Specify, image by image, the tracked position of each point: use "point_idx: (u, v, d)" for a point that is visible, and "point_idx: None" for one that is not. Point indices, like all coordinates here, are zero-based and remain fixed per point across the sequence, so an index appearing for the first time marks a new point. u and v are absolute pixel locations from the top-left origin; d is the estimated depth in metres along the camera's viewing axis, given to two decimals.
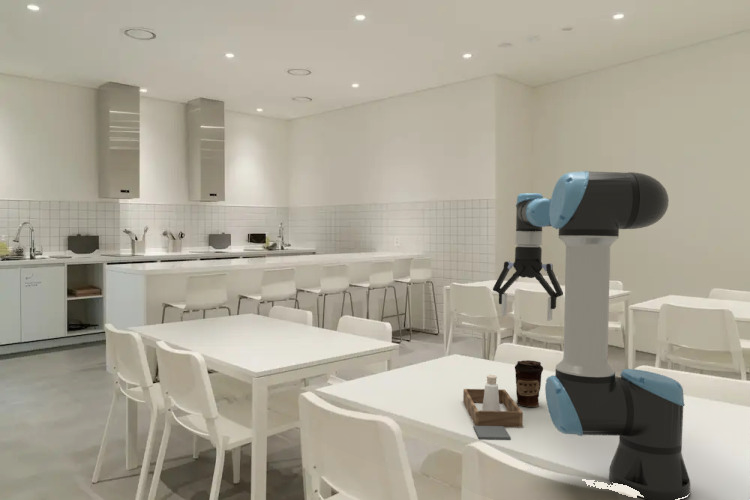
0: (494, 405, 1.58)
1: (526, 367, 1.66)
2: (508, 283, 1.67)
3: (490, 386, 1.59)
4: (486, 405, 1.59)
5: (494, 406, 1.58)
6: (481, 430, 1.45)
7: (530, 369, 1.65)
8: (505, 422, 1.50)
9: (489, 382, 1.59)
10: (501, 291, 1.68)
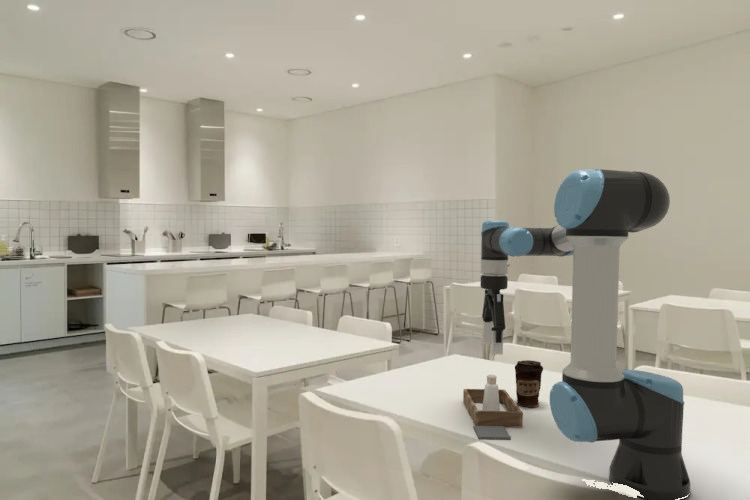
0: (494, 405, 1.58)
1: (526, 367, 1.66)
2: (485, 311, 1.65)
3: (490, 386, 1.59)
4: (486, 405, 1.59)
5: (494, 406, 1.58)
6: (481, 430, 1.45)
7: (530, 369, 1.65)
8: (505, 422, 1.50)
9: (489, 382, 1.59)
10: (483, 319, 1.67)
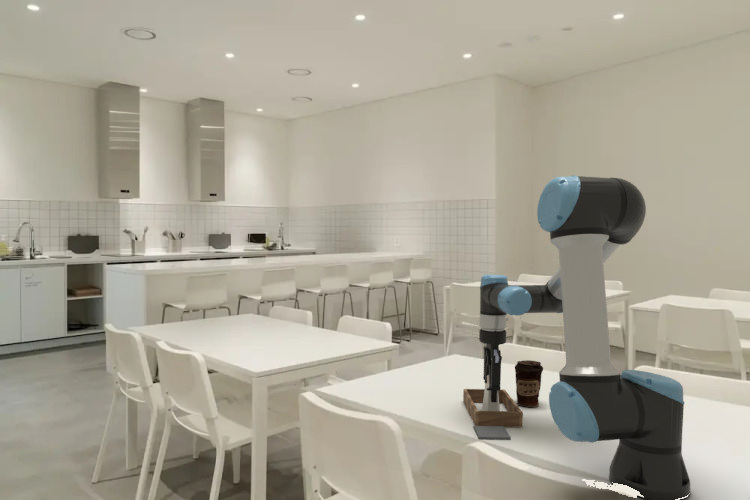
0: None
1: (526, 367, 1.66)
2: (485, 370, 1.63)
3: None
4: (486, 405, 1.59)
5: None
6: (481, 430, 1.45)
7: (530, 369, 1.65)
8: (505, 422, 1.50)
9: None
10: (485, 381, 1.63)
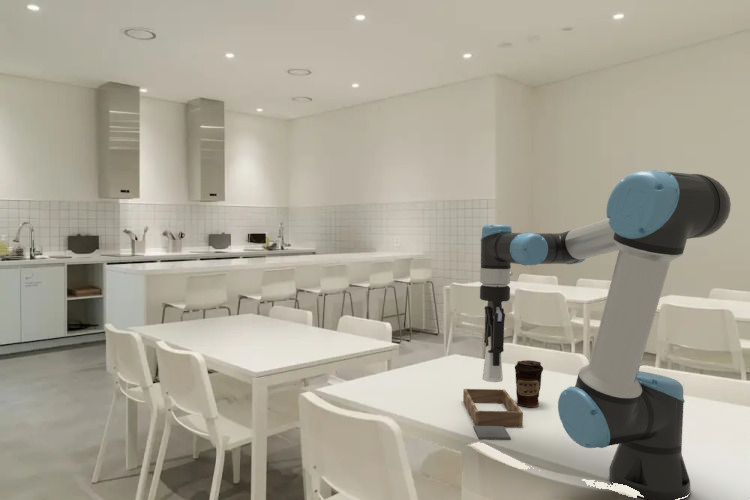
0: None
1: (526, 367, 1.66)
2: (487, 332, 1.46)
3: None
4: (487, 369, 1.42)
5: None
6: (481, 430, 1.45)
7: (530, 369, 1.65)
8: (505, 422, 1.50)
9: None
10: (486, 343, 1.47)
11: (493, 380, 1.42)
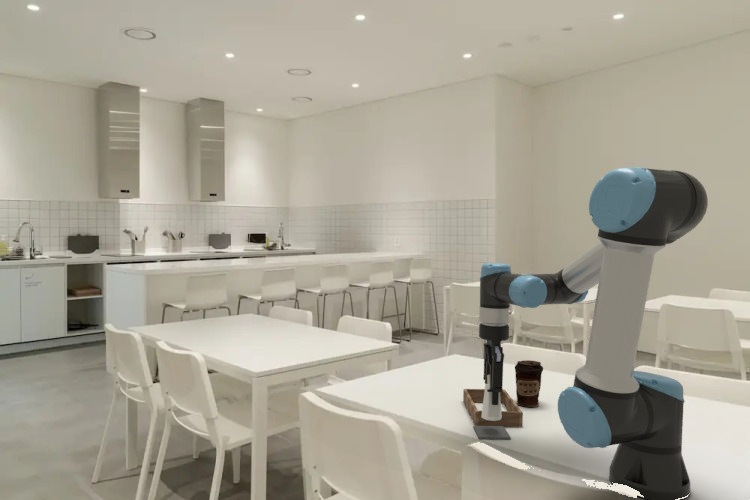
0: None
1: (526, 367, 1.66)
2: (486, 369, 1.47)
3: None
4: (486, 408, 1.43)
5: None
6: (481, 430, 1.45)
7: (530, 369, 1.65)
8: (505, 422, 1.50)
9: None
10: (485, 381, 1.47)
11: (492, 419, 1.42)
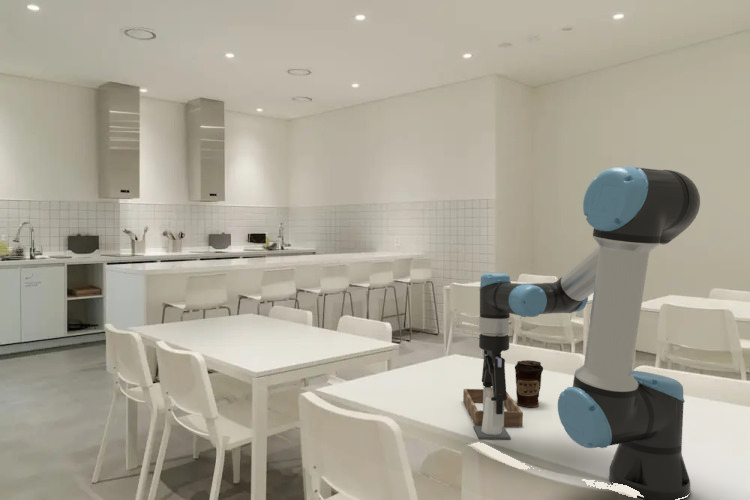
0: None
1: (526, 367, 1.66)
2: (485, 375, 1.48)
3: (491, 401, 1.43)
4: (486, 422, 1.43)
5: None
6: None
7: (530, 369, 1.65)
8: (505, 422, 1.50)
9: (490, 396, 1.43)
10: (483, 383, 1.50)
11: (492, 433, 1.42)
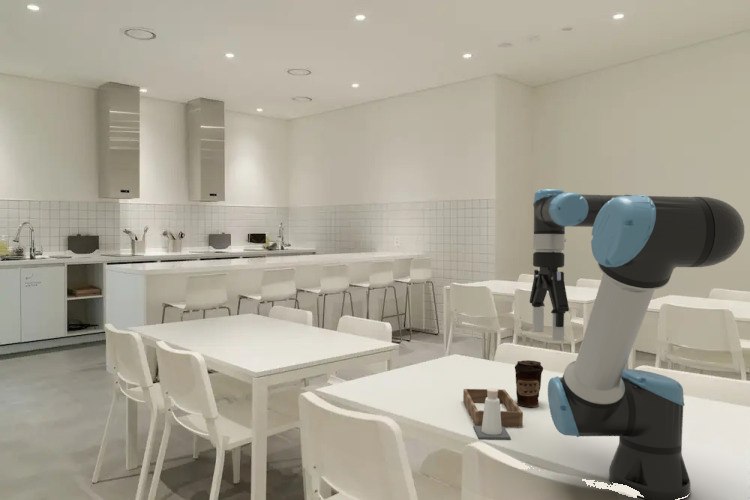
0: (496, 422, 1.42)
1: (526, 367, 1.66)
2: (535, 294, 1.46)
3: (491, 401, 1.43)
4: (486, 422, 1.43)
5: (496, 423, 1.42)
6: None
7: (530, 369, 1.65)
8: (505, 422, 1.50)
9: (490, 396, 1.43)
10: (532, 303, 1.48)
11: (492, 433, 1.42)
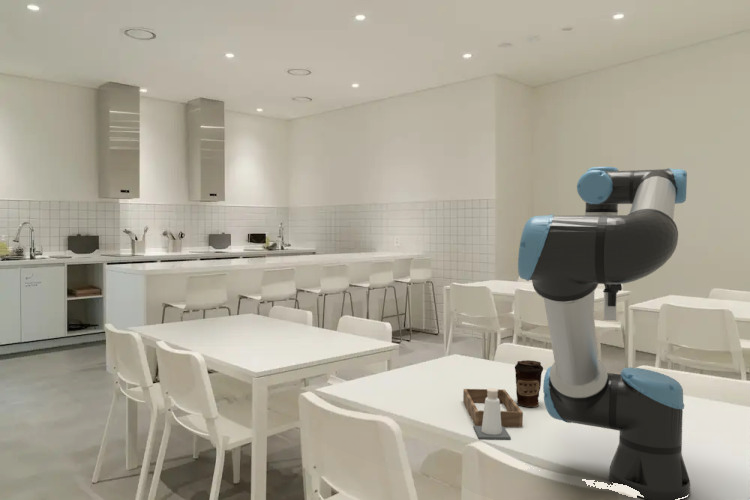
0: (496, 422, 1.42)
1: (526, 367, 1.66)
2: None
3: (491, 401, 1.43)
4: (486, 422, 1.43)
5: (496, 423, 1.42)
6: None
7: (530, 369, 1.65)
8: (505, 422, 1.50)
9: (490, 396, 1.43)
10: None
11: (492, 433, 1.42)
